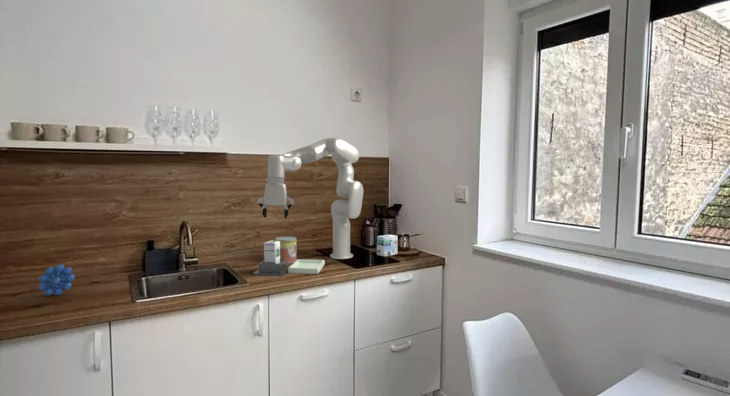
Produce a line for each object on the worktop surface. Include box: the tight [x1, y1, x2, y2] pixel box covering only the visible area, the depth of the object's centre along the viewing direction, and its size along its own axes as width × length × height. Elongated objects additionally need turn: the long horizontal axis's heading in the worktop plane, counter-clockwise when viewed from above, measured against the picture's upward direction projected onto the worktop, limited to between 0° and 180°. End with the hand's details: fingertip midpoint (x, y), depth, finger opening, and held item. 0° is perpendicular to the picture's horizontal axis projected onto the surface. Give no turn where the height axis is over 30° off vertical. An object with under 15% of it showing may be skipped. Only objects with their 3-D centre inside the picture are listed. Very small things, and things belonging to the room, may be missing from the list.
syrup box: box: [263, 240, 281, 264], centre depth 194 cm, size 6×6×14 cm
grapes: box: [38, 264, 76, 296], centre depth 158 cm, size 12×7×12 cm, turn 113°
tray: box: [287, 258, 326, 275], centre depth 201 cm, size 18×14×2 cm
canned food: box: [274, 236, 298, 264], centre depth 217 cm, size 11×11×12 cm
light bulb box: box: [376, 234, 399, 257], centre depth 234 cm, size 11×7×11 cm, turn 131°
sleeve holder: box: [252, 259, 291, 277], centre depth 195 cm, size 14×14×5 cm
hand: (275, 217), depth 194 cm, fingers open, 9 cm apart
